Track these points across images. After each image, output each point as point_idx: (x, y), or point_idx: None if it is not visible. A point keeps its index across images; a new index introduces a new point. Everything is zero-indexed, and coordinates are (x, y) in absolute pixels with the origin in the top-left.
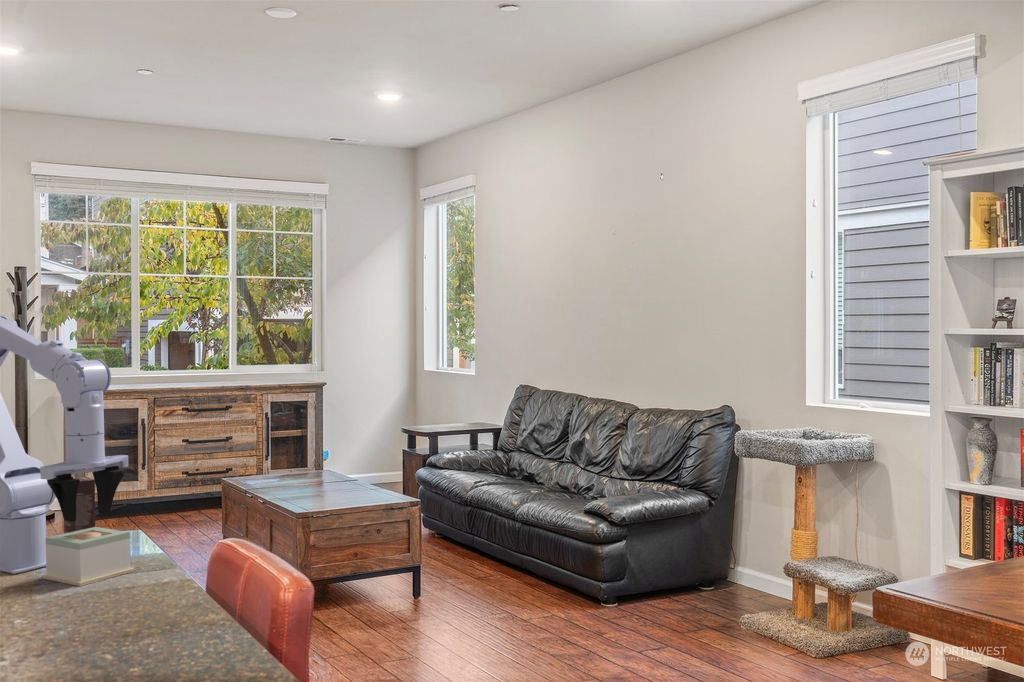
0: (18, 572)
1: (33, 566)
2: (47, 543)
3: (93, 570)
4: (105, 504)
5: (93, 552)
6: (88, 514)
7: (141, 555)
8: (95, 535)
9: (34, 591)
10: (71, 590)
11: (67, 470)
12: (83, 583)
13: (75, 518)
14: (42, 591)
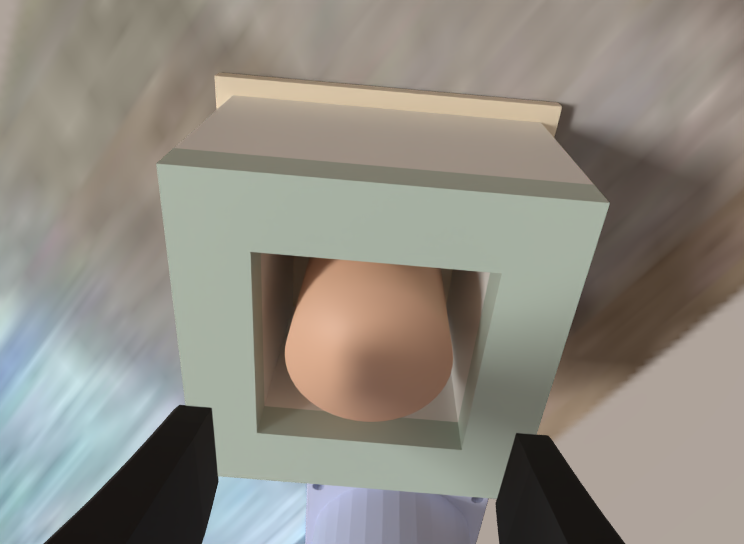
0: None
1: None
2: None
3: (468, 128)
4: (182, 491)
5: (480, 161)
6: None
7: (27, 291)
8: (359, 306)
9: (680, 233)
10: (634, 77)
11: None
12: (539, 102)
13: (523, 446)
14: (674, 200)
